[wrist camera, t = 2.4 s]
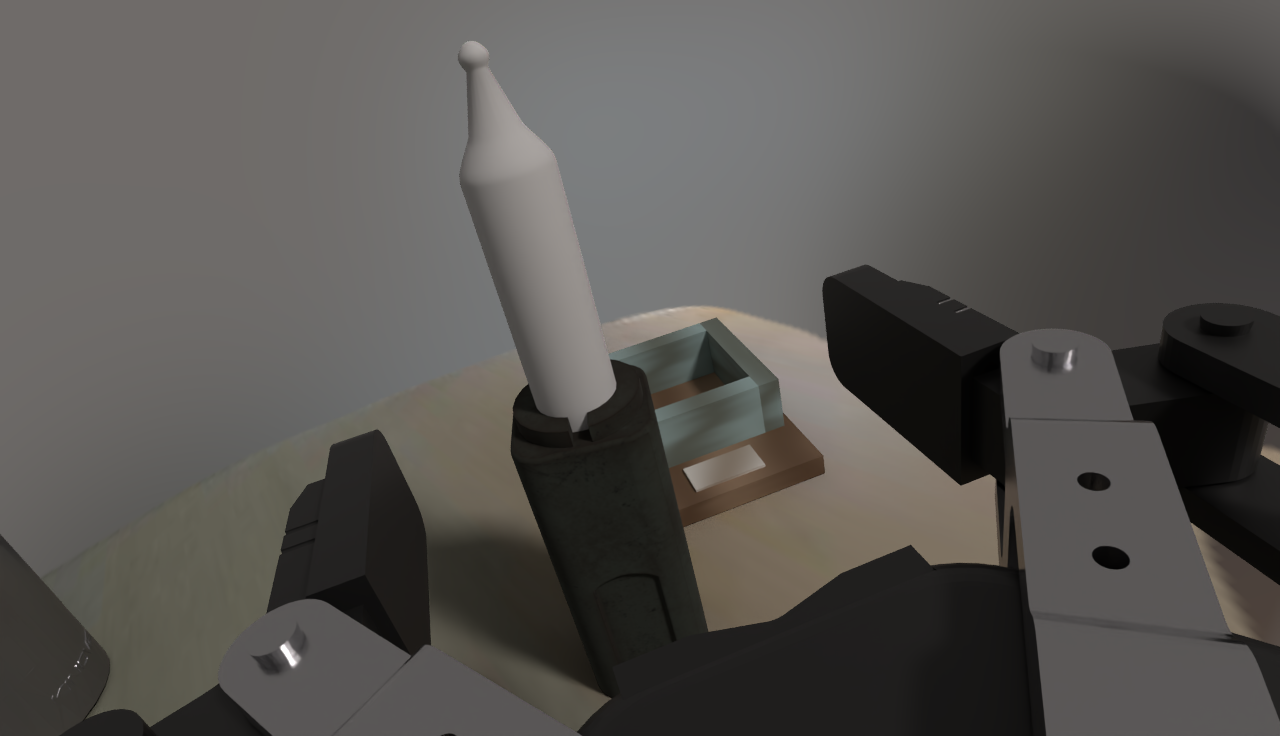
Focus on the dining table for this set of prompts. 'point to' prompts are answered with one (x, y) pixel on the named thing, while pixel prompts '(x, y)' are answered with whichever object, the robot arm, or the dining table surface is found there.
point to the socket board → (720, 420)
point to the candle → (575, 401)
